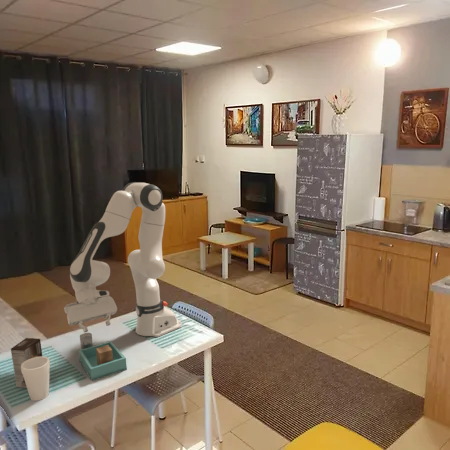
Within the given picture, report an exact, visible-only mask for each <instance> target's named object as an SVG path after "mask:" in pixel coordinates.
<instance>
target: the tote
mask: <svg viewBox="0 0 450 450" xmlns="http://www.w3.org/2000/svg"><path fill="white" fill-rule="evenodd" d="M106 345H109V347H110V348H111V349H112V353H113V361H111V362H108V363H104V364H101V365H97V355H96V348H99V347H103V346H106ZM77 352H78V360H79V363H80V364H81V367H82V368H83V370H84V371H85V372H86V374H87V375H88V377H89V379H90V380H91V381H96V380H100V379H102V378H106V377H108V376H112V375H114V374H117V373H120V372H124V371H127V369H128V367H127V358H126V357H125V355H124V354H123V353H122V352H121V351H120V350H119V348H117V346H116V345H115V344H114V343H113V341H111V340H110V341H107V342H103V343H101V344H97V345H93V346H92V347H89V348H85V349H82V350H81V349H79V350H78V351H77Z"/></svg>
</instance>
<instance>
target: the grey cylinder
mask: <svg viewBox="0 0 450 450" xmlns="http://www.w3.org/2000/svg"><path fill="white" fill-rule="evenodd" d="M79 342H80V343H79V344H80V350H82V349H85V348H89V347H92V346H94V343H93V334H92V333H91V332H83V333H81V334H80V335H79Z"/></svg>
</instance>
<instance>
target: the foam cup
mask: <svg viewBox="0 0 450 450" xmlns="http://www.w3.org/2000/svg"><path fill="white" fill-rule="evenodd" d="M50 369H51V361H50V358H49V357H46V356H43V355H42V356H40V357H34V358H30V359H28V360H26V361H25V362H23V363H22V365H21V372H22V374H23V377H24V380H25V383H26V386H27V388H26V389H27V392H28V395H29V399H30V400H31V401H36V402H37V401H42V400H44V399H46V398H47V397H48V396H49V393H50Z"/></svg>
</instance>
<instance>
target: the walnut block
mask: <svg viewBox="0 0 450 450" xmlns="http://www.w3.org/2000/svg"><path fill="white" fill-rule="evenodd" d="M96 355H97V365H101V364H104V363H108V362H111V361H113V353H112V349H111V348H110V347H109V345H106V346H103V347H99V348H96Z"/></svg>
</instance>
